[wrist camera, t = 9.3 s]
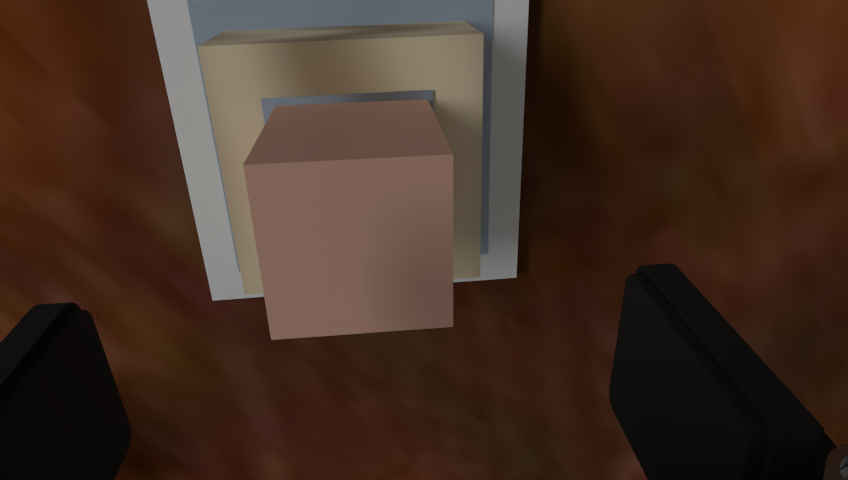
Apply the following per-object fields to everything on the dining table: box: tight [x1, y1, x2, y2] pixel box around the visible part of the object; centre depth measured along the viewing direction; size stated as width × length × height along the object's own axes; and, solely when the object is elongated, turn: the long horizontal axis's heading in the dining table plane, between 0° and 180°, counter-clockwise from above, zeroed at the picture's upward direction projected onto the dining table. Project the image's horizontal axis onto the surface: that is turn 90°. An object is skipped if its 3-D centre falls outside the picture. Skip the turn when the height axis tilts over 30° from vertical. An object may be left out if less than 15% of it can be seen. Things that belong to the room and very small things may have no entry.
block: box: [243, 99, 453, 340], centre depth 18 cm, size 5×5×6 cm
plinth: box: [198, 21, 484, 295], centre depth 22 cm, size 9×9×4 cm
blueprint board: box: [147, 0, 529, 301], centre depth 25 cm, size 14×14×1 cm
